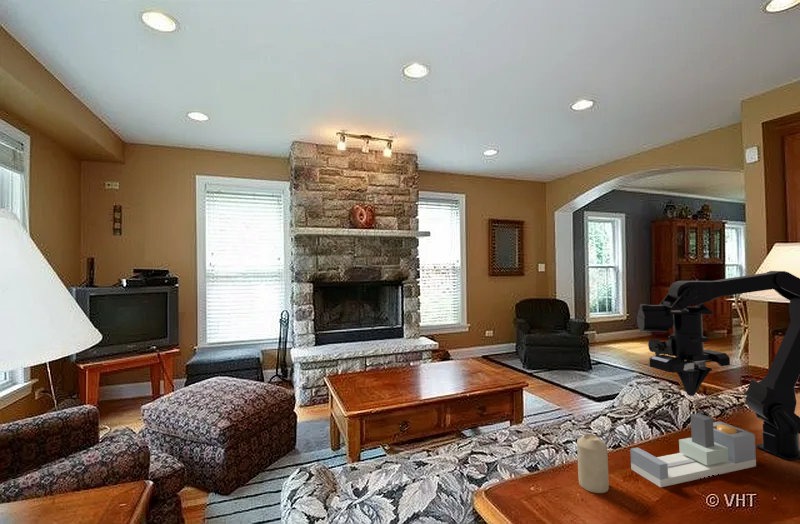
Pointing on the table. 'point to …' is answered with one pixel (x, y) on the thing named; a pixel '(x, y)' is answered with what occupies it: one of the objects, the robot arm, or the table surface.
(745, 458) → the rail
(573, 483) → the table surface
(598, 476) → the candle
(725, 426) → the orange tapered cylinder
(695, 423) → the carriage
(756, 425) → the table surface
